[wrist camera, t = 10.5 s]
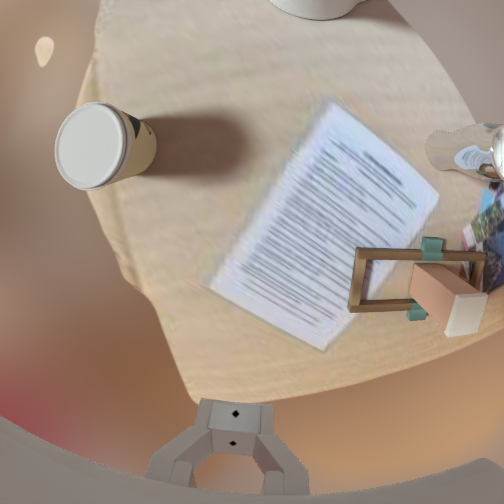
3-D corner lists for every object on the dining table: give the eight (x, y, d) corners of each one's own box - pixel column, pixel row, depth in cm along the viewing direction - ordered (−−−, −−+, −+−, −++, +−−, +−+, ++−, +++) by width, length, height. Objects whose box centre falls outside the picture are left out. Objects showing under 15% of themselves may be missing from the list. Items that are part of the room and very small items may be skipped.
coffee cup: (174, 127, 35) (141, 115, 24) (147, 191, 38) (106, 205, 27) (118, 106, 34) (71, 91, 23) (94, 167, 37) (43, 174, 25)
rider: (413, 262, 40) (460, 298, 28) (440, 262, 40) (488, 295, 28) (407, 295, 42) (447, 337, 30) (433, 293, 42) (476, 332, 30)
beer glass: (463, 155, 35) (531, 162, 21) (439, 182, 37) (507, 198, 22) (440, 118, 34) (508, 110, 19) (414, 144, 35) (482, 144, 21)
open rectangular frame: (357, 233, 39) (361, 236, 38) (483, 240, 39) (488, 243, 38) (345, 319, 43) (347, 324, 42) (466, 311, 43) (470, 315, 42)
